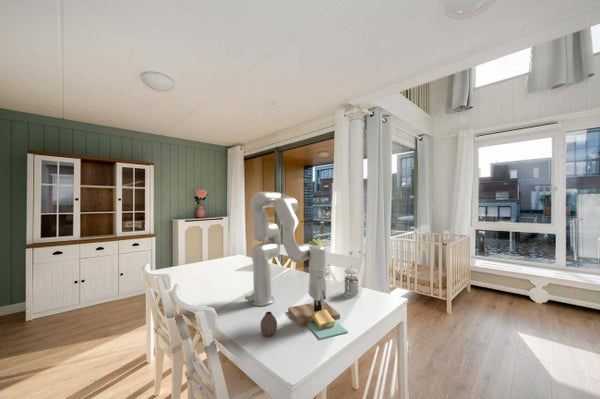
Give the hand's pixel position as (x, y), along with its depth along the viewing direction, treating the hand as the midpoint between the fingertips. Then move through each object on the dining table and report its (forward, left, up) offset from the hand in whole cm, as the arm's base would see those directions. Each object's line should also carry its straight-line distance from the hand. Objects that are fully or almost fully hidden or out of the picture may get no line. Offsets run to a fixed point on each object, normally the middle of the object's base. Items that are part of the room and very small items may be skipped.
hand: (317, 312), depth 114 cm
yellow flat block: (0, -5, -2) cm, 5 cm away
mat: (0, -9, -3) cm, 9 cm away
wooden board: (0, +5, -3) cm, 6 cm away
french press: (+31, +20, -3) cm, 37 cm away
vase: (-24, -3, -3) cm, 24 cm away
